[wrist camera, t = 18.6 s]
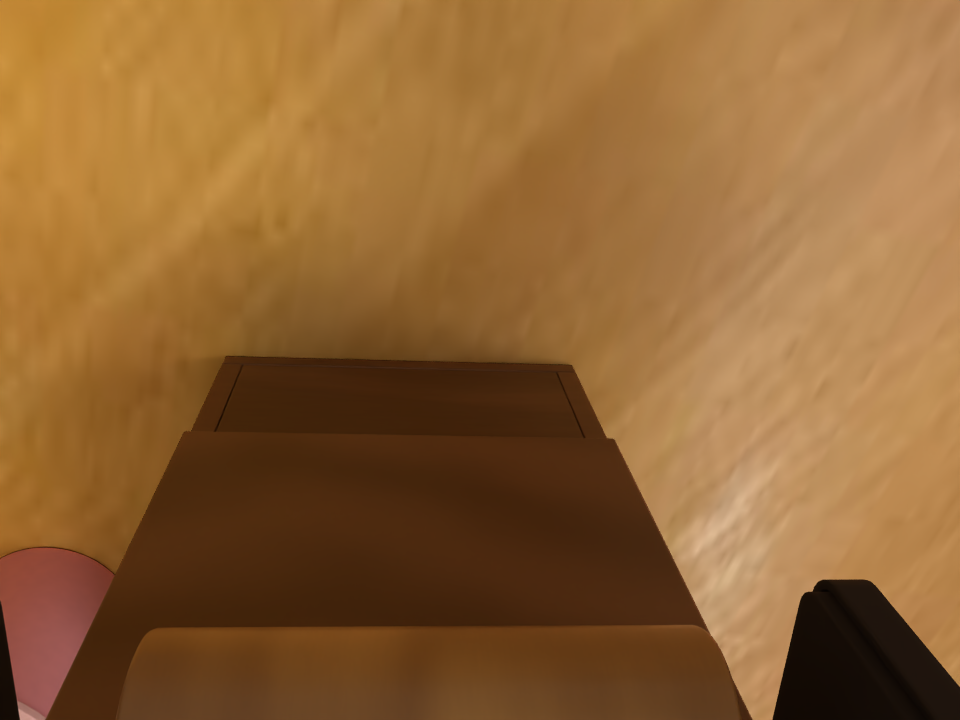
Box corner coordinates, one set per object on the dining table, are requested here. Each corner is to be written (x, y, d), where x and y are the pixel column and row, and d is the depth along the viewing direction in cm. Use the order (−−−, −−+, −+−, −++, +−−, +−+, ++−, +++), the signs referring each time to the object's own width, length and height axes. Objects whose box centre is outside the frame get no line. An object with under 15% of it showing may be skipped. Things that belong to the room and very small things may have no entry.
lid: (960, 1216, 10) (1151, 801, 8) (-203, 1310, 9) (-395, 843, 7) (611, 461, 27) (639, 254, 24) (185, 455, 26) (170, 235, 23)
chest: (531, 731, 39) (555, 857, 34) (242, 737, 38) (215, 868, 32) (572, 364, 33) (609, 442, 27) (225, 355, 32) (187, 435, 26)
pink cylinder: (133, 539, 34) (61, 690, 27) (148, 677, 36) (86, 851, 29) (-50, 540, 33) (-177, 696, 26) (-22, 681, 36) (-130, 860, 28)
